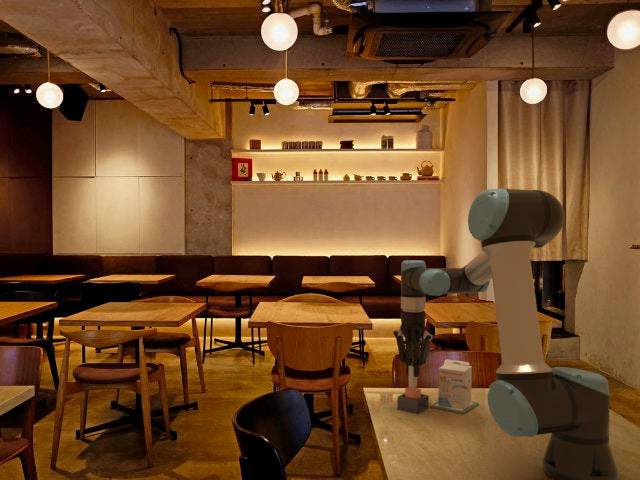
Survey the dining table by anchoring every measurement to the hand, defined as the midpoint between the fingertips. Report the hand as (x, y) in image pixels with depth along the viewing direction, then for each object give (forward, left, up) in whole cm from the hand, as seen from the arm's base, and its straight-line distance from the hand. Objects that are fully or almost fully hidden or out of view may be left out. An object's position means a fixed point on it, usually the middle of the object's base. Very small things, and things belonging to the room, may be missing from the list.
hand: (412, 386), depth 166 cm
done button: (0, 0, -5) cm, 5 cm away
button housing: (0, 0, -7) cm, 7 cm away
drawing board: (+10, -9, -7) cm, 15 cm away
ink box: (+10, -9, -6) cm, 15 cm away
